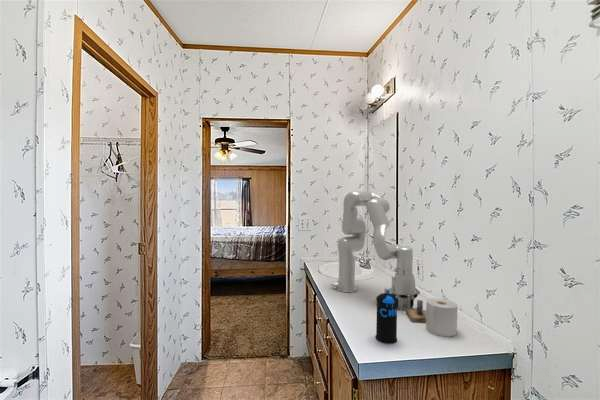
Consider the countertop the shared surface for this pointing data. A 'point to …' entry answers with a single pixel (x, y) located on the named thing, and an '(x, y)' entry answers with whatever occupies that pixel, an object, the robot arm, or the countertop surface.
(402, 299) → the hub
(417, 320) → the shaft block
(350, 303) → the countertop surface
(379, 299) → the aerosol can
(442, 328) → the toilet paper roll
